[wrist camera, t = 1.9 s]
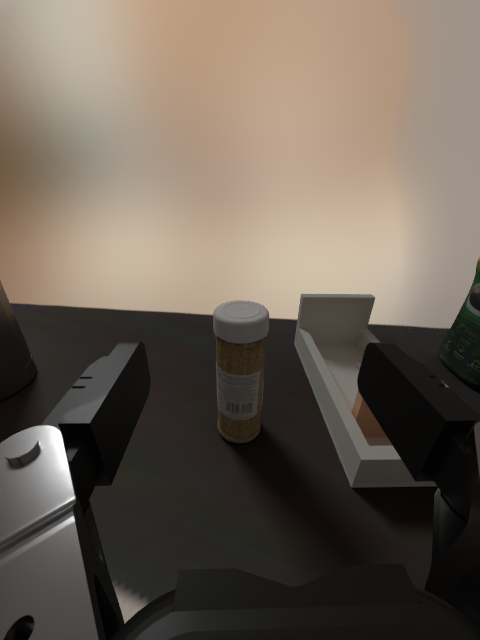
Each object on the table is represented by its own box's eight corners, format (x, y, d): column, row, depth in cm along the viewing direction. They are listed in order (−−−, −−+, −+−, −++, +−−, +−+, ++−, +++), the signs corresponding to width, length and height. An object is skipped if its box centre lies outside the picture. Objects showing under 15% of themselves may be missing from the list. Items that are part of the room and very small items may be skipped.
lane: (472, 485, 22) (524, 411, 18) (351, 487, 22) (378, 412, 18) (358, 344, 42) (371, 294, 38) (294, 344, 42) (301, 293, 38)
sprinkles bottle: (265, 416, 28) (275, 303, 22) (253, 452, 24) (261, 326, 18) (226, 405, 30) (226, 295, 23) (209, 437, 26) (202, 316, 20)
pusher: (425, 436, 25) (449, 388, 22) (350, 437, 25) (365, 388, 22) (383, 381, 32) (397, 340, 30) (324, 381, 32) (333, 339, 29)
